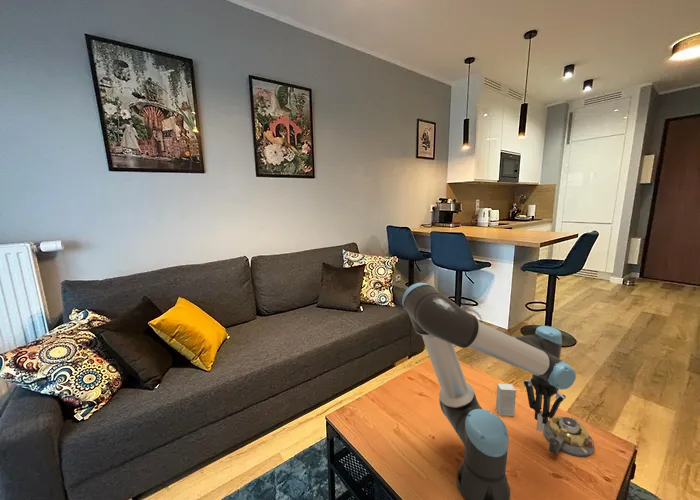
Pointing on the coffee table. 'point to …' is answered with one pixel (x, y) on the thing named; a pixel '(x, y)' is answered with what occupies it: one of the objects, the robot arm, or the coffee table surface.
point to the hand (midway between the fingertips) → (540, 429)
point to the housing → (572, 430)
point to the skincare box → (505, 399)
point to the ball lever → (565, 435)
